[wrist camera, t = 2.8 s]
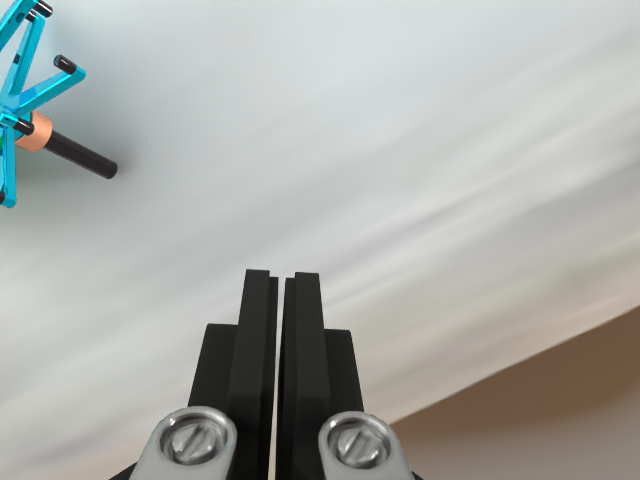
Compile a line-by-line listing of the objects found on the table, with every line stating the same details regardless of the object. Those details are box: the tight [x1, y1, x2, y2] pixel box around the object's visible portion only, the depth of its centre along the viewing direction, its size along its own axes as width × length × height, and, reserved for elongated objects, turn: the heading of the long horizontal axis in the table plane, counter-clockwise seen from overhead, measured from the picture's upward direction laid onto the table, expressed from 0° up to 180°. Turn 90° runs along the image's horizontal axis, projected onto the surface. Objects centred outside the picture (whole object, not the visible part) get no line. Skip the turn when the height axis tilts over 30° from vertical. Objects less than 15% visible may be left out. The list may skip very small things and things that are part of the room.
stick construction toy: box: [0, 0, 118, 208], centre depth 20 cm, size 12×7×8 cm
